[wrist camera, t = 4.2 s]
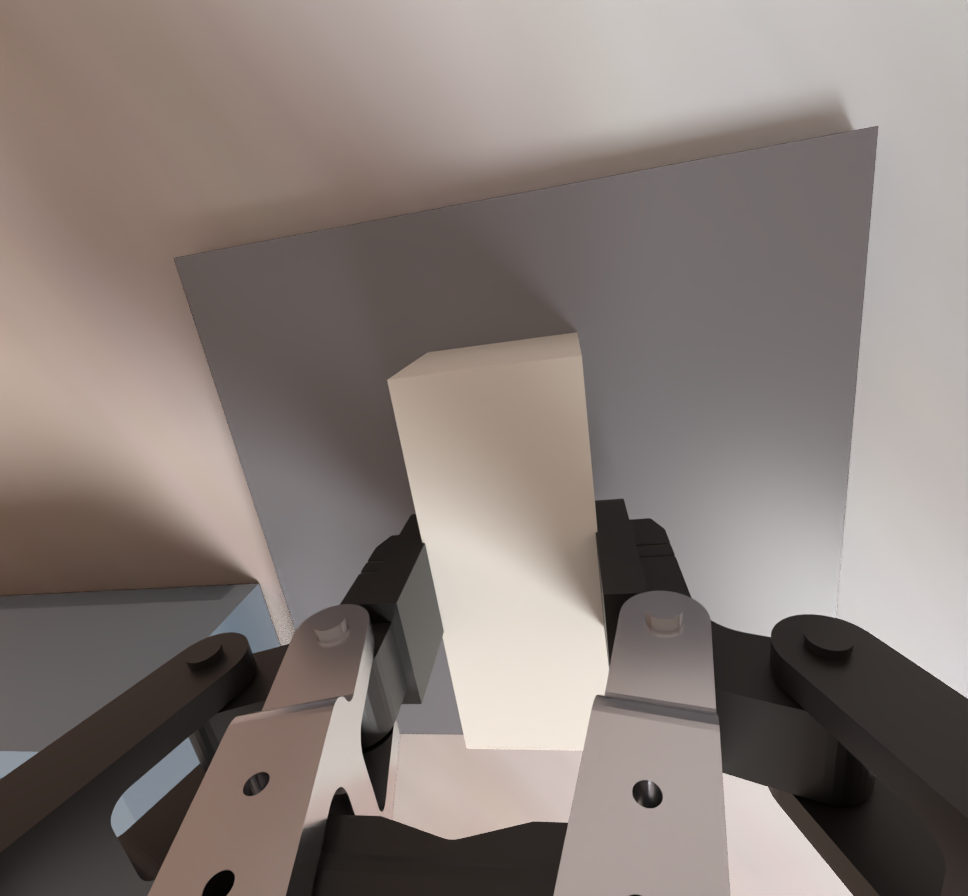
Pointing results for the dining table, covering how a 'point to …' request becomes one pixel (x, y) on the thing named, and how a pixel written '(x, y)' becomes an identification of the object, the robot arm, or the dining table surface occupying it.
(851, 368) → the lid
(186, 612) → the dish
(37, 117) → the dining table surface
